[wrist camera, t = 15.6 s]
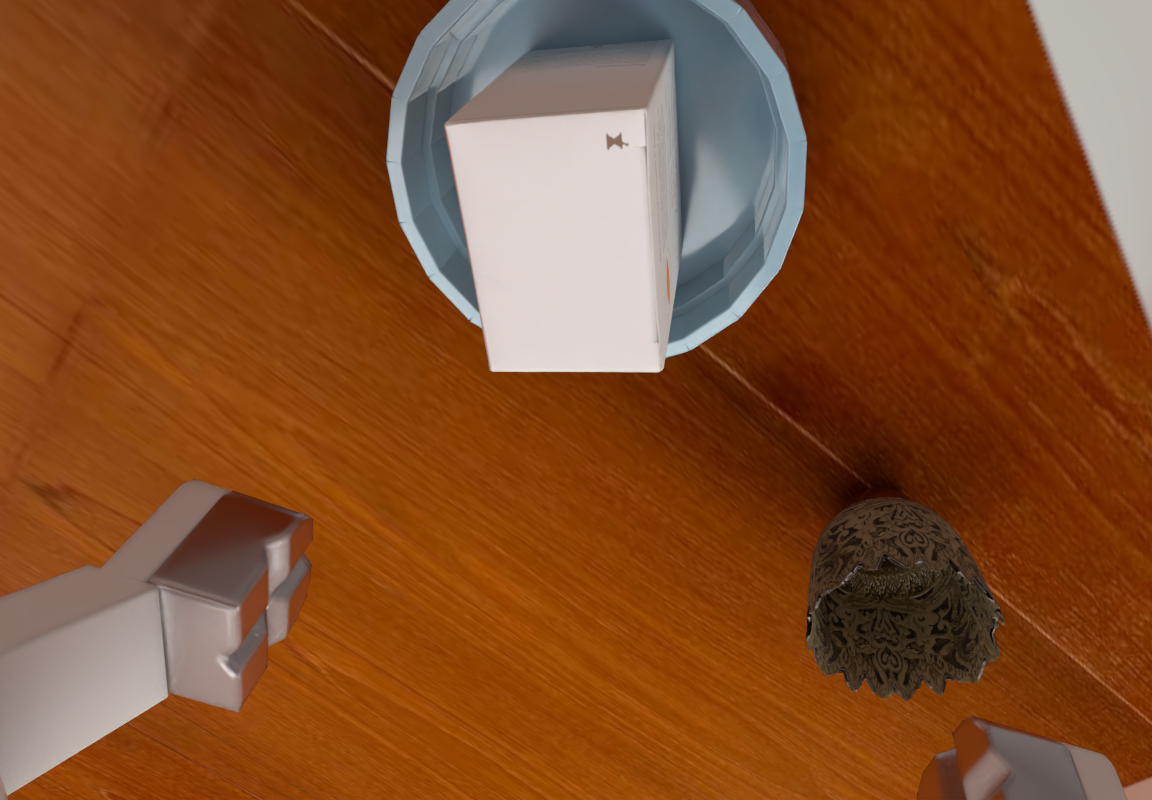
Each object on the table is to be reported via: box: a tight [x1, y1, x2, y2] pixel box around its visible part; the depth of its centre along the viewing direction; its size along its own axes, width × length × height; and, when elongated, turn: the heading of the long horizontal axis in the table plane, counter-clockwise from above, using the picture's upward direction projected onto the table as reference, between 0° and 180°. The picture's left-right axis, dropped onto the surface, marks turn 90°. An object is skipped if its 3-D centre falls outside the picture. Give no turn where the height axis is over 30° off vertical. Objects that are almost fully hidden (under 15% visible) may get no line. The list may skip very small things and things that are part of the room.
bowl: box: [386, 0, 807, 358], centre depth 31 cm, size 14×14×5 cm
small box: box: [444, 39, 683, 372], centre depth 28 cm, size 8×6×10 cm
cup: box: [806, 487, 1004, 701], centre depth 36 cm, size 8×7×8 cm
